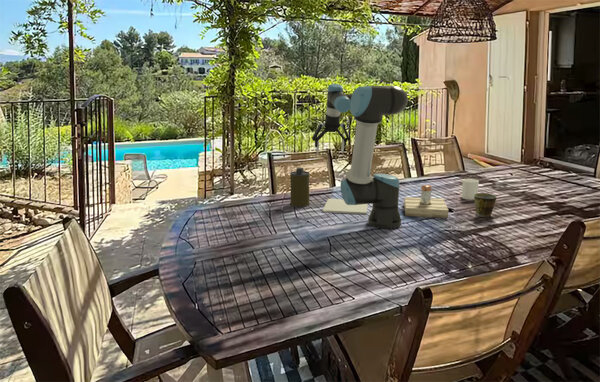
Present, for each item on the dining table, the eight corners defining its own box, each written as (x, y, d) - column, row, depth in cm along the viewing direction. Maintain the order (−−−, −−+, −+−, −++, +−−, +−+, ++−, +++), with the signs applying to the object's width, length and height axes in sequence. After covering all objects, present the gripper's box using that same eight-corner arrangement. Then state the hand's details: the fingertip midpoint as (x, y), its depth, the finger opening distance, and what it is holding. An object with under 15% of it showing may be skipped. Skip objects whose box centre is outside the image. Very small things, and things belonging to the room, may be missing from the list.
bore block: (447, 217, 214) (448, 210, 213) (405, 215, 218) (405, 208, 217) (442, 206, 233) (443, 198, 232) (404, 204, 237) (404, 197, 236)
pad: (366, 214, 221) (366, 212, 220) (322, 212, 225) (322, 210, 224) (368, 202, 242) (368, 200, 241) (328, 200, 246) (328, 198, 245)
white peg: (430, 212, 223) (431, 187, 220) (420, 212, 224) (421, 187, 221) (429, 209, 228) (431, 185, 224) (419, 209, 228) (421, 184, 225)
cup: (463, 199, 245) (465, 182, 242) (457, 194, 256) (459, 177, 254) (479, 200, 244) (480, 182, 242) (472, 194, 256) (474, 177, 253)
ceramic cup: (476, 211, 225) (478, 192, 222) (497, 214, 219) (499, 195, 216) (467, 217, 215) (469, 197, 213) (488, 221, 209) (491, 201, 206)
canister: (307, 207, 233) (307, 170, 228) (288, 206, 235) (287, 169, 230) (311, 202, 243) (311, 166, 238) (292, 201, 245) (292, 165, 240)
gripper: (354, 112, 234) (350, 149, 244) (308, 112, 230) (305, 149, 240) (358, 117, 227) (353, 155, 237) (310, 116, 224) (307, 155, 234)
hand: (329, 152), depth 239 cm, fingers open, 13 cm apart
